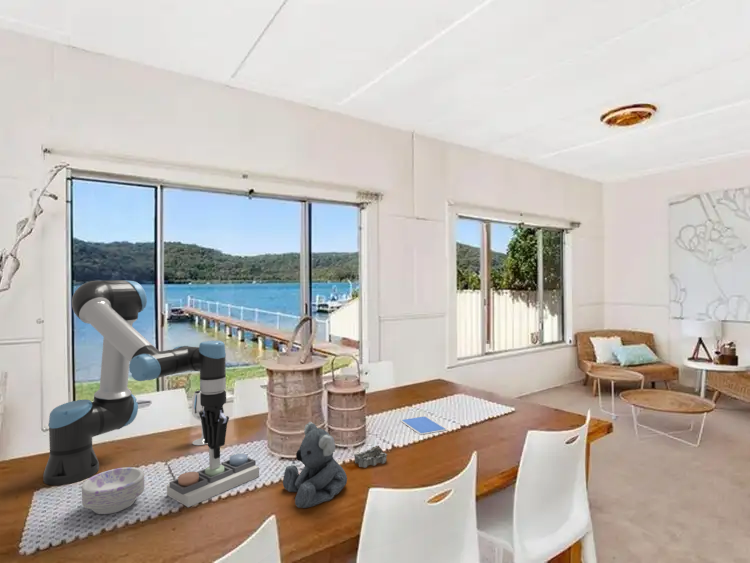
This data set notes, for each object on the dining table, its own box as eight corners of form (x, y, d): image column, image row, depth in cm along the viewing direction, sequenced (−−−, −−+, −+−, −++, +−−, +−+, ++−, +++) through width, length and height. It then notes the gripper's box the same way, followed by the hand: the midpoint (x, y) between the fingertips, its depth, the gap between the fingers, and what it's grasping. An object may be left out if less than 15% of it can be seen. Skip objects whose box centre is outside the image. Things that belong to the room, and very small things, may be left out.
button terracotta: (184, 488, 124) (184, 481, 124) (174, 482, 128) (174, 476, 128) (202, 480, 129) (202, 474, 129) (192, 476, 132) (192, 470, 132)
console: (187, 507, 122) (186, 491, 122) (166, 495, 129) (165, 480, 129) (259, 475, 141) (259, 462, 141) (238, 466, 148) (237, 453, 148)
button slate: (236, 467, 138) (236, 461, 138) (226, 463, 141) (225, 457, 141) (251, 461, 142) (251, 456, 142) (240, 457, 146) (240, 452, 146)
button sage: (211, 480, 131) (211, 474, 131) (201, 475, 134) (201, 469, 134) (228, 473, 135) (227, 467, 135) (217, 468, 139) (217, 463, 139)
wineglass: (208, 445, 169) (207, 393, 169) (188, 445, 169) (187, 394, 169) (216, 438, 176) (215, 388, 176) (197, 438, 177) (196, 389, 177)
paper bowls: (99, 526, 113) (99, 495, 113) (71, 511, 121) (71, 482, 121) (155, 500, 126) (155, 473, 126) (127, 488, 134) (126, 462, 134)
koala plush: (280, 487, 133) (278, 423, 133) (334, 473, 142) (332, 413, 142) (299, 513, 118) (297, 440, 118) (358, 496, 126) (357, 428, 126)
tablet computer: (447, 432, 180) (447, 428, 180) (420, 436, 175) (420, 433, 175) (425, 418, 198) (425, 415, 198) (400, 422, 193) (400, 419, 193)
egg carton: (380, 456, 156) (380, 444, 156) (389, 464, 149) (389, 451, 149) (352, 461, 152) (352, 449, 152) (360, 469, 145) (359, 457, 145)
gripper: (236, 391, 134) (237, 468, 134) (212, 386, 142) (214, 458, 142) (214, 397, 128) (215, 477, 128) (190, 391, 136) (192, 466, 136)
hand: (214, 467), depth 135 cm, fingers closed
